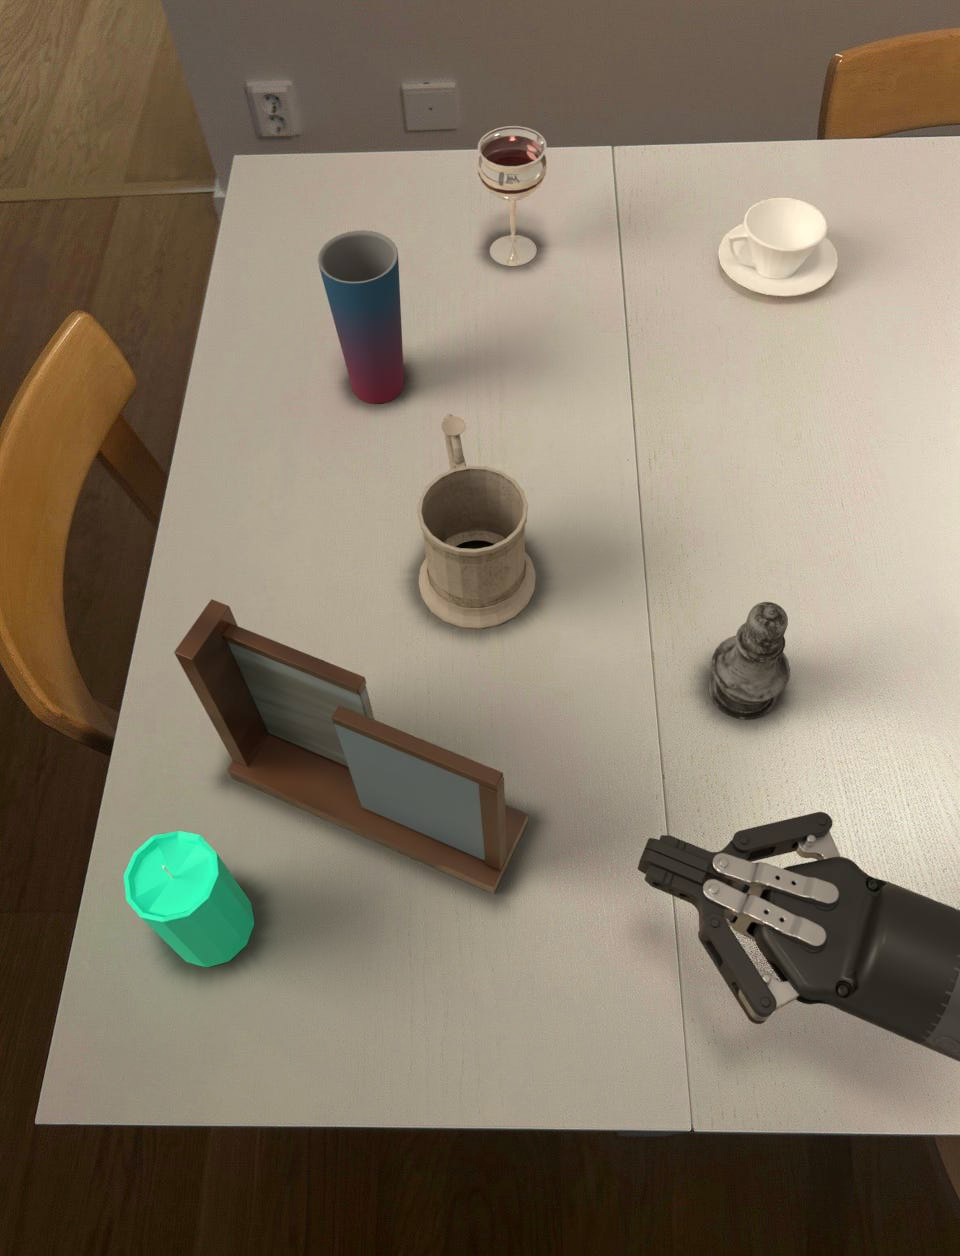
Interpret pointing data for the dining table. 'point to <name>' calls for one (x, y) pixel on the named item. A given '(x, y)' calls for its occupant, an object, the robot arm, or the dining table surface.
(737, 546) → the dining table surface
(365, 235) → the cup
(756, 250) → the teacup
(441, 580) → the mug
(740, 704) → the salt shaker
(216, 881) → the candle
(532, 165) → the wineglass
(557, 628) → the dining table surface
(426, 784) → the glass door
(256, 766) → the screen frame
